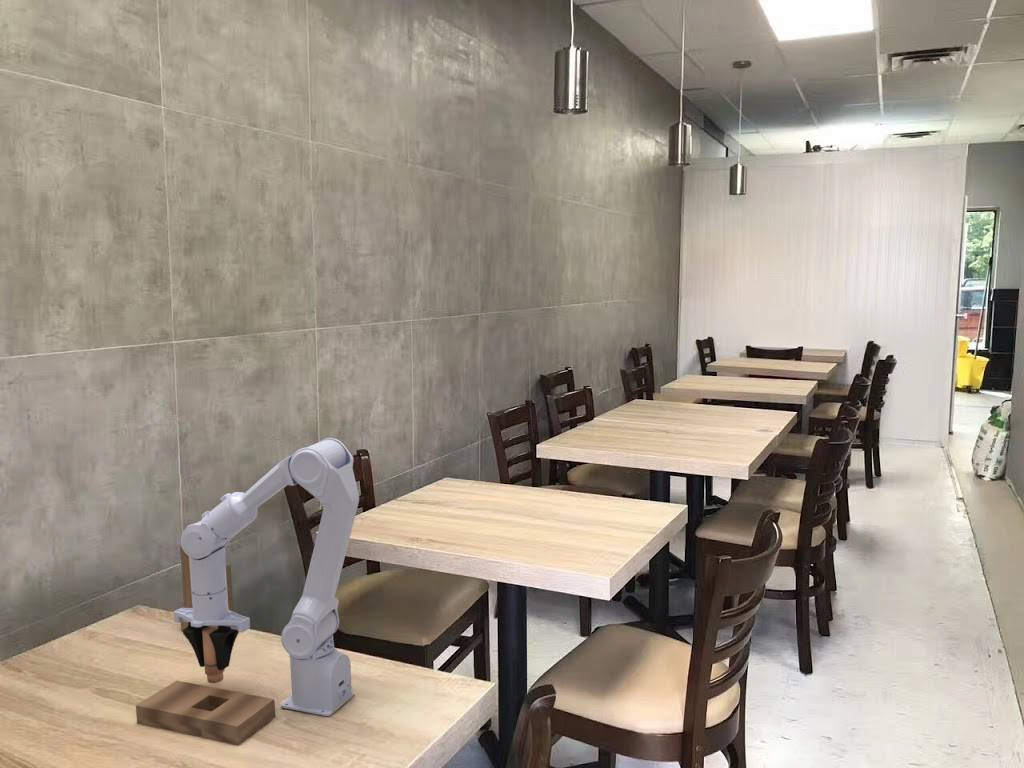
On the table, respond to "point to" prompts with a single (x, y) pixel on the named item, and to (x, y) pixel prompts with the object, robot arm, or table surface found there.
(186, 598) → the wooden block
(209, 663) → the peg
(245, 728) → the board
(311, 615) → the robot arm
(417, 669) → the table surface
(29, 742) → the table surface
